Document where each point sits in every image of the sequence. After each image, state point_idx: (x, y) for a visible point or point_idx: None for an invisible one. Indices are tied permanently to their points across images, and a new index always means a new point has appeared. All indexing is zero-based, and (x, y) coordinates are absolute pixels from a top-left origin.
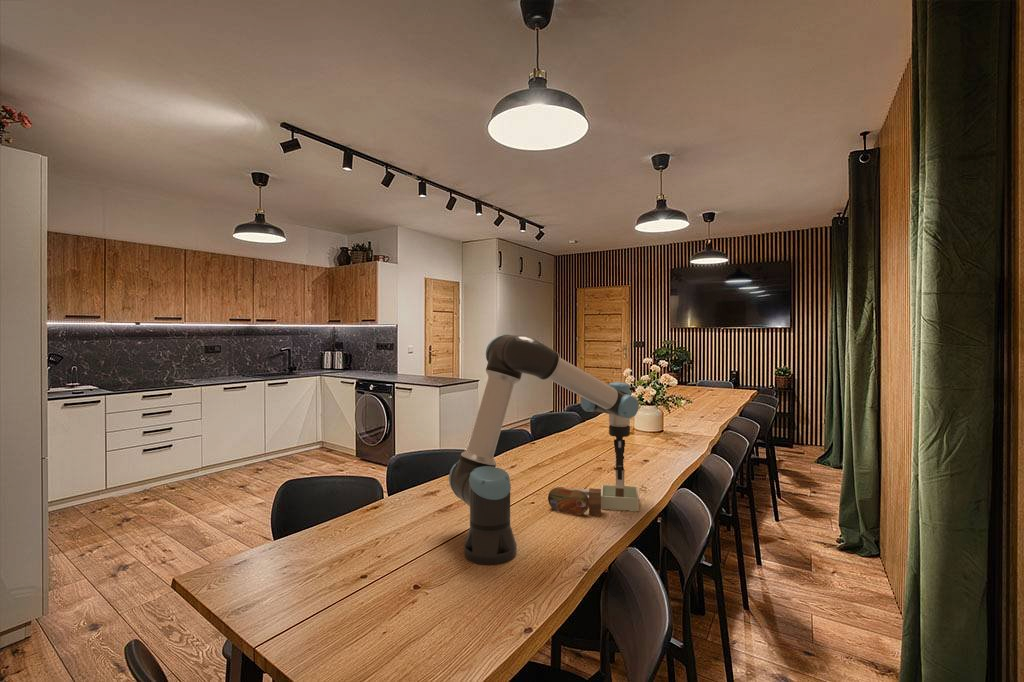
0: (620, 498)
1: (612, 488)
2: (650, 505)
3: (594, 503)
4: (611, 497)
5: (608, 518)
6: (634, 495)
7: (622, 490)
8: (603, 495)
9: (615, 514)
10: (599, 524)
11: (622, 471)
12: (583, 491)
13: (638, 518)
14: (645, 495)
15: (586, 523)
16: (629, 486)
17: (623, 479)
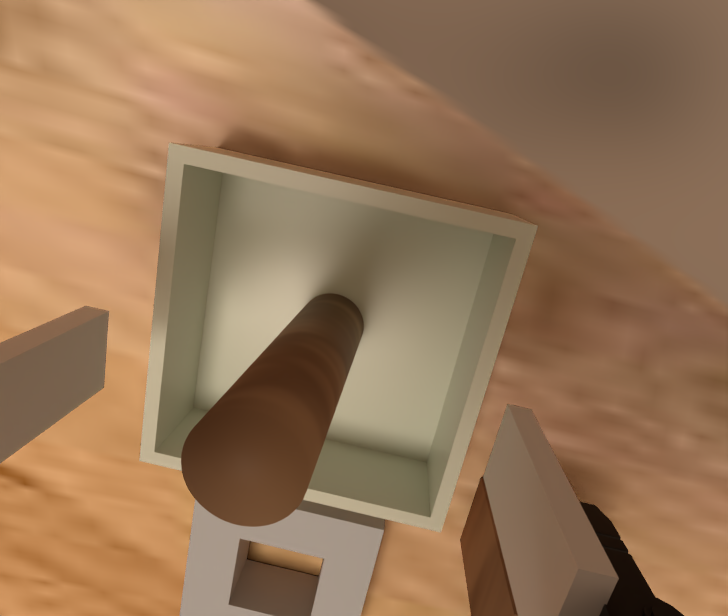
0: (484, 384)
1: (172, 368)
2: (374, 68)
3: None
4: (464, 454)
5: (610, 459)
6: (216, 173)
7: (344, 342)
8: (193, 406)
9: (544, 398)
10: (700, 532)
11: (601, 575)
12: (232, 576)
13: (646, 255)
14: (123, 41)
15: (668, 596)
16: (168, 222)
17: (561, 473)
